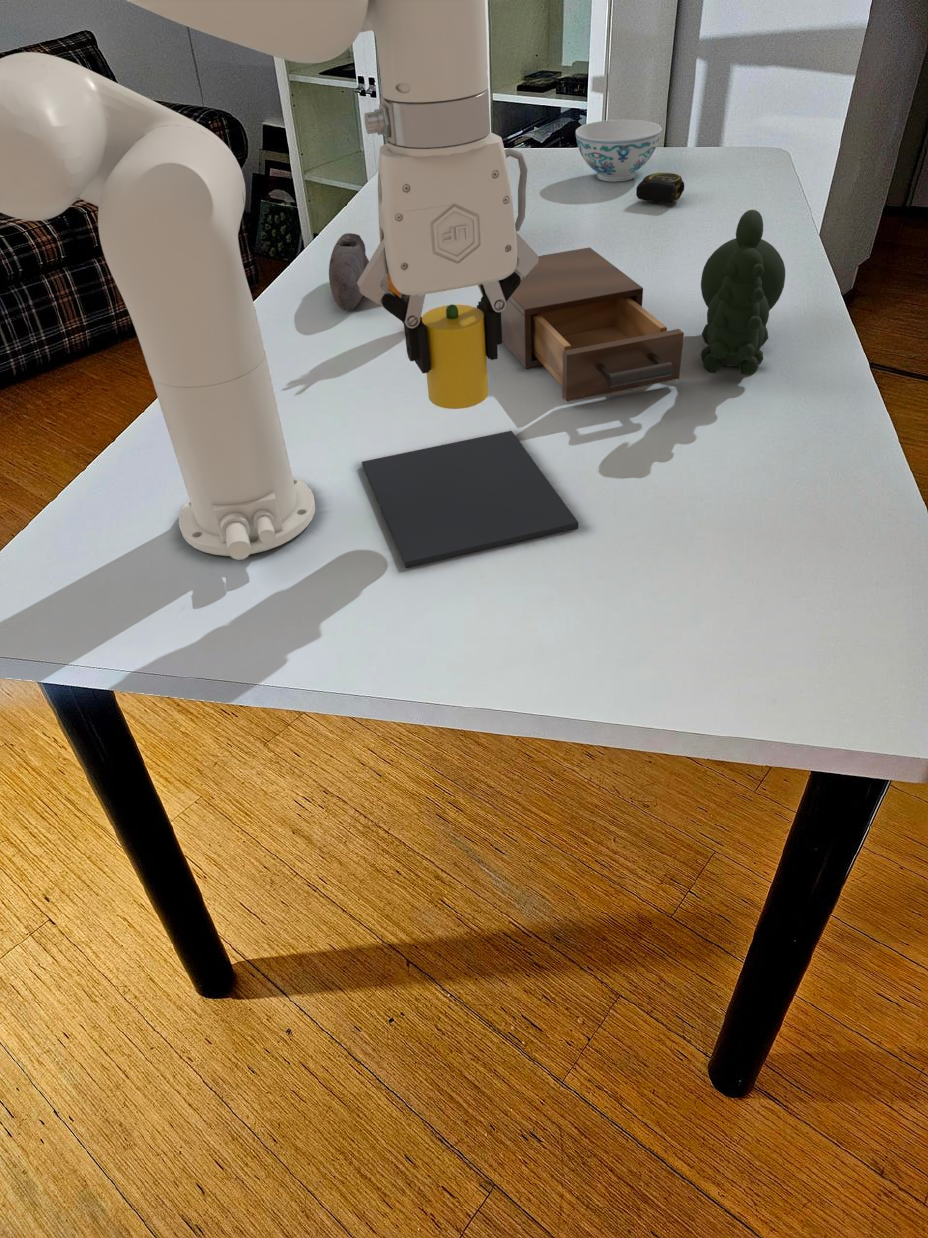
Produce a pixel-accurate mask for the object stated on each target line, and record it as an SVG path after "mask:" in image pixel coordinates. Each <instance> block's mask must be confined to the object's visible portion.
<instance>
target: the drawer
mask: <svg viewBox="0 0 928 1238" xmlns="http://www.w3.org/2000/svg"><path fill="white" fill-rule="evenodd" d="M684 337H685V332H684V331H682V330H681V329H680V328H676V329H669V330H668V327H667V326H666V325H665V324H664V323H663V322H661V321H660V320H658V318H656V317H655V316H654V315H653V314H651V313H650V312H649V311H648V310H646V309H645V308H644V307H643V306H642V307H641V306H640V305H639V304H637V303H636V302H635V301H634V300H632V299H631V298H630V297H626V298H621V299H616V300H610V301H605V302H599V303H594V304H588V305H583V306H577V307H572V308H566V309H561V310H555V311H550V312H544V313H539V314H533V315H531V349H532V353H533V354H534V355H535V357H536V358H537V359H538V360H539V361H540V362H541V363H542V364H543V365H542V366H543V367H544V368H545V369H546V370H547V372H549V374H550V375H551V376H552V377H553V378H554V379H555V380H556V381H557V383H558V384H559V385H560V386H561V387H562V392H561V393H562V394H561V395H562V396H561V397H562V399H563V400H564V401H565V402H571V401H577V400H581V399H587V398H592V397H596V396H602V395H606V394H611V393H616V392H621V391H627V390H631V389H636V388H641V387H645V386H650V385H651V386H652V385H656V384H661V383H666V382H670V381H675V380H680V373H681V366H682V355H683V346H684Z"/></svg>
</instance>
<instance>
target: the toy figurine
mask: <svg viewBox="0 0 928 1238" xmlns="http://www.w3.org/2000/svg"><path fill="white" fill-rule="evenodd" d="M763 235H764V220H763V216H762V214H761V213H760V212H759V211H758V210H757V209H748V210H747V211H745V212H744V213H743V214H742V215H741V217H740V219H739V221H738V223H737V226H736V231H735V238H732V239H729V240H727V241H726V242H724V243H723V244H722V245H720V246H719V247H717V249H715V250H714V251H713V252H712V253H711V255H710V256H709V257H708V258H707V260H706V262H705V264H704V266H703V270H702V273H701V279H700V290H701V291H700V292H701V296H702V299H703V302H704V304H705V305H706V308H707V312H706V323H707V324H705V326H704V327H703V329H702V332H701V337H702V340H703V342H704V343H705V344H706V345H707V346H706V347H705V346H704V347H703V348H702V351H701V352H700V354H699V355H700V359H701V361H702V365H703V369H704V370H705V372H707V373H709V374H710V373H711V374H716V373H718V372H719V371H720V370H721V368H722V367H723V366H726V367H738V369H739V372H740V374H742V375H743V376H752V375H753V374H755V373H756V372H757V371H758V369H759V366H760V365H761V363H762V362H763V361H764V352H763V351H762V350H761V348H762V347H763V346H764V345H765V343H766V342H767V341H768V339H769V332H768V328H767V323H768V321H769V318H770V311H771V310H772V309H773V308H774V307H775V305H776V304H777V303H778V301H779V300H780V298H781V296H782V293H783V291H784V287H785V282H786V266H785V263H784V260H783V258H782V256H781V254H780V252H779V251H778V250H777V249H776V248H775V247H774V246H773V245H772V244H771V243H769V242H768V241H766V240H764V239H762V238H763Z"/></svg>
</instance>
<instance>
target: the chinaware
mask: <svg viewBox="0 0 928 1238" xmlns="http://www.w3.org/2000/svg"><path fill="white" fill-rule="evenodd" d="M661 134H662V126H661V125H660V124H658V123H655V122H654V121H653V122H652V121H648V120H642V119H609V120H608V119H606V120H600V121H594V122H590V123H586V124H583V125H580V126H578V127H577V128H576V129H575V138H576V139H575V140H576V144H577V147H578V151H579V154H580V156H581V157H582V159H583V161H584V162H585V163H586V165H588V166H589V168H590V169H592V170H593V171H594V172H595V173H597V178H598V180H601V181H604V182H613V183H614V182H615V183H616V182H625V181H629V180H632V179H633V178H635V176H636V172H637V171H639V169H641V168H642V167H643V166H645V164H647V162H648V161H649V160H650V159H651V158H652V156H653V155H654V153H655V151H656V149H657V146H658V144H659V141H660V138H661Z"/></svg>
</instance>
